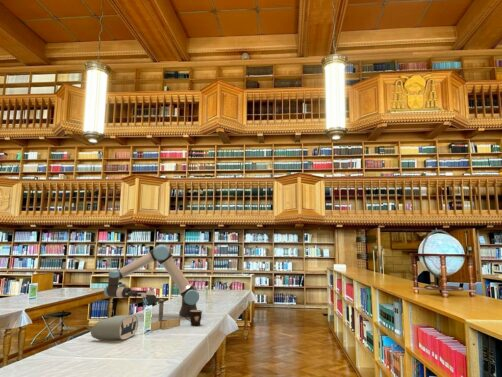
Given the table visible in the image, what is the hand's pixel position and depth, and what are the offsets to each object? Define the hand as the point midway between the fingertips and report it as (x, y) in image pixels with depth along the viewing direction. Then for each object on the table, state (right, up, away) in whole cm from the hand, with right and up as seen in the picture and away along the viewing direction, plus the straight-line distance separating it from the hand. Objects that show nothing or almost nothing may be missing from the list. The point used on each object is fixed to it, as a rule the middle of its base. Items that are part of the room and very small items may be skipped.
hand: (150, 294), depth 276 cm
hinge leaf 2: (+18, -19, -15) cm, 30 cm away
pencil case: (-10, -14, -46) cm, 49 cm away
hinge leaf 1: (+11, -17, -22) cm, 30 cm away
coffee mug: (+33, -20, -7) cm, 39 cm away
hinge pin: (+9, -20, -5) cm, 23 cm away
